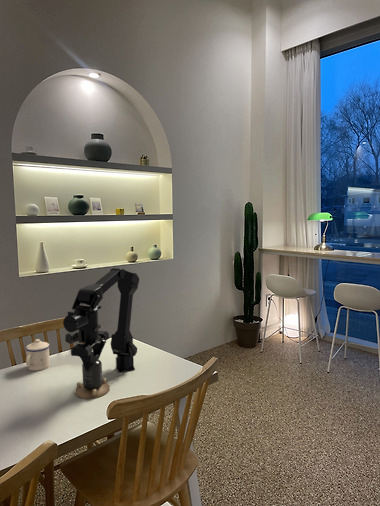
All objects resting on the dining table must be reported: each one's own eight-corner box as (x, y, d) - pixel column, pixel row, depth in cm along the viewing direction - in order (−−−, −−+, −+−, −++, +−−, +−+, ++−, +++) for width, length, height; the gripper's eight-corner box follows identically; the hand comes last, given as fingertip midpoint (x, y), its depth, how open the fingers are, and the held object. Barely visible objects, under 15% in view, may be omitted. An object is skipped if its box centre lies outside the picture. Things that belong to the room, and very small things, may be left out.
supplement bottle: (106, 385, 141) (105, 353, 140) (89, 392, 137) (88, 359, 135) (95, 380, 146) (94, 349, 145) (79, 386, 141) (77, 354, 140)
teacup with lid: (36, 361, 169) (34, 335, 167) (55, 363, 166) (53, 336, 165) (17, 373, 157) (15, 345, 156) (37, 375, 155) (35, 346, 153)
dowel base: (106, 381, 149) (106, 374, 149) (112, 395, 138) (112, 388, 138) (74, 386, 145) (73, 379, 145) (77, 401, 134) (76, 394, 134)
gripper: (81, 315, 149) (83, 354, 151) (55, 330, 131) (57, 375, 133) (108, 316, 147) (110, 356, 149) (86, 332, 129) (88, 377, 131)
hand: (91, 365), depth 140 cm, fingers closed on supplement bottle, 7 cm apart
